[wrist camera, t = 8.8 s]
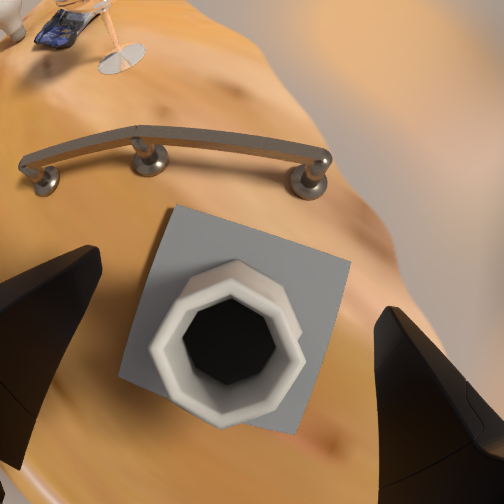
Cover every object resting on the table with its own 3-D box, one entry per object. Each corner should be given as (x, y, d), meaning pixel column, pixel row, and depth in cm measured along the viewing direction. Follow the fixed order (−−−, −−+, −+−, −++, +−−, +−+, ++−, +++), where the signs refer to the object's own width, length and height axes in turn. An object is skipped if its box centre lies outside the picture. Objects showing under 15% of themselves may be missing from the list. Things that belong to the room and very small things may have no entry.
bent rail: (326, 201, 18) (346, 176, 14) (34, 197, 17) (6, 179, 13) (322, 154, 19) (339, 122, 15) (46, 157, 18) (22, 134, 14)
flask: (143, 317, 15) (29, 320, 5) (240, 237, 16) (245, 135, 7) (226, 413, 14) (216, 529, 4) (323, 332, 15) (433, 355, 6)
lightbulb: (43, 23, 23) (21, -21, 12) (21, 47, 21) (-6, 2, 11) (22, 31, 23) (0, -8, 12) (1, 55, 21) (-26, 16, 11)
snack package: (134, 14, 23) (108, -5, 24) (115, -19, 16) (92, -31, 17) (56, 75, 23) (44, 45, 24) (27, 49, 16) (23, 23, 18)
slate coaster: (292, 429, 15) (294, 434, 14) (122, 374, 15) (117, 376, 14) (346, 263, 17) (351, 261, 16) (178, 208, 17) (176, 204, 17)
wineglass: (96, 91, 19) (45, -9, 7) (85, 60, 20) (47, -23, 8) (164, 57, 20) (141, -52, 8) (143, 30, 21) (121, -57, 9)
